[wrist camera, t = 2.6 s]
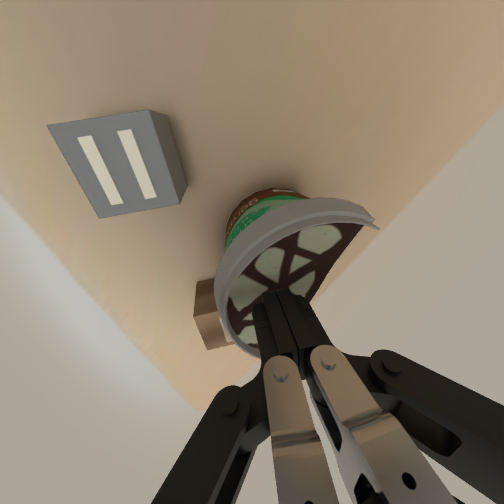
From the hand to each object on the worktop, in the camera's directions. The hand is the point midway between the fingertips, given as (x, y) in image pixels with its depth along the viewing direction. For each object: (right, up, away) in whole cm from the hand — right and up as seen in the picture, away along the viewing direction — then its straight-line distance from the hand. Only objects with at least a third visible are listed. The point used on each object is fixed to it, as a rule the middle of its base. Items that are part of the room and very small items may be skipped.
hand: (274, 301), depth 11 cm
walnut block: (-5, -2, +13) cm, 14 cm away
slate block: (-9, +10, +5) cm, 14 cm away
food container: (-2, +6, +9) cm, 11 cm away
